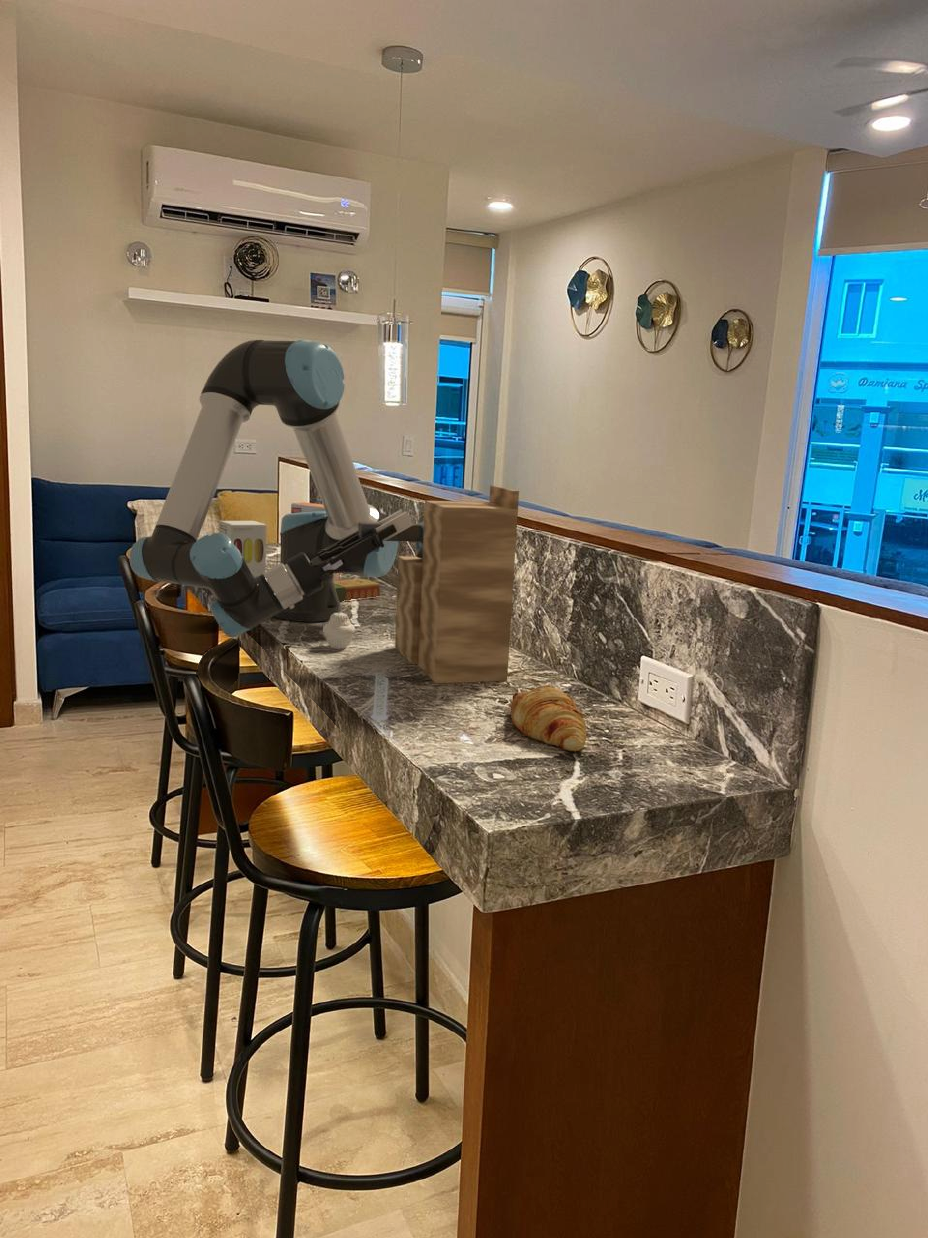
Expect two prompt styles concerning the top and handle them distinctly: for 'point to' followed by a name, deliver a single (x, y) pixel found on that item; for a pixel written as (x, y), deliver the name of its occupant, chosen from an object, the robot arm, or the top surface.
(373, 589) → the carton
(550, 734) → the croissant
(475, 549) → the pine stand
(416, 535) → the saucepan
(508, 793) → the top surface
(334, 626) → the white ridged rounded piece
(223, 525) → the supplement box
